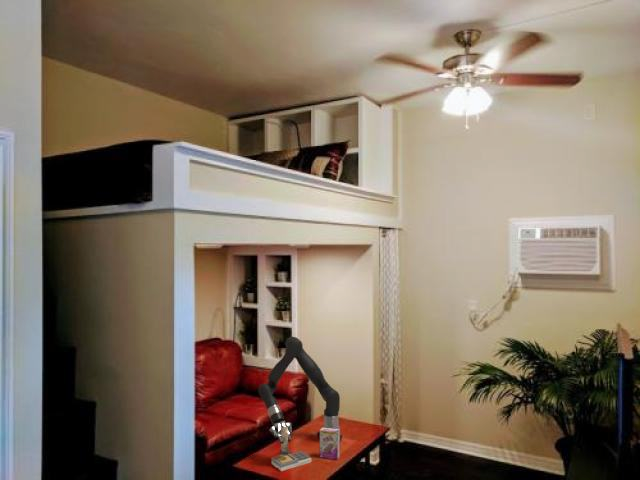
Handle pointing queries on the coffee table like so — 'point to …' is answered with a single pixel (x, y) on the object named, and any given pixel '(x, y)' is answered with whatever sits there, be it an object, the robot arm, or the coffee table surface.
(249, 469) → the coffee table surface
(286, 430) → the beige rounded cylinder
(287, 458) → the amber key
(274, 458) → the keyboard
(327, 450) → the candy bar box
